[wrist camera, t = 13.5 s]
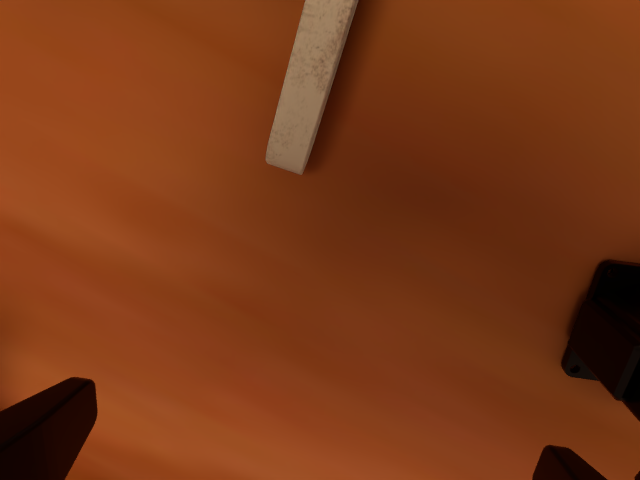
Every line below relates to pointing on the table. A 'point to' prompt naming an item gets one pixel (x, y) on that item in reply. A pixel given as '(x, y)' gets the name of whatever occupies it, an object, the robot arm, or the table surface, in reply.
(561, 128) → the table surface
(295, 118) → the wrench
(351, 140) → the table surface
